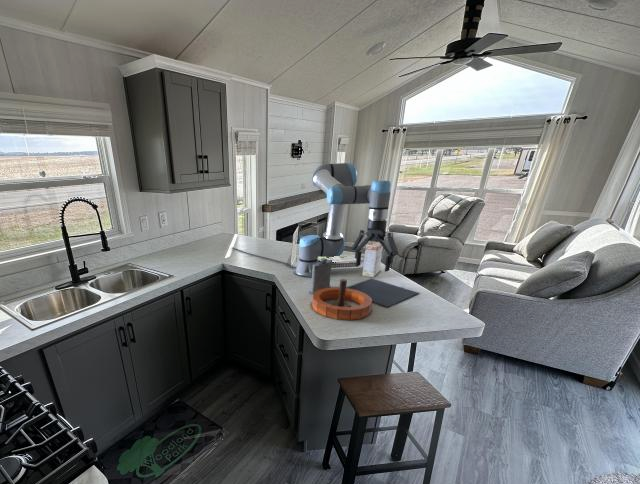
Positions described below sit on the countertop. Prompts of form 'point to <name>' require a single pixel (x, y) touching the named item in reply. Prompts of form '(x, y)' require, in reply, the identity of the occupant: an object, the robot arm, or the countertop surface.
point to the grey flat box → (321, 275)
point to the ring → (342, 312)
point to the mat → (383, 292)
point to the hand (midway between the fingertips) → (371, 268)
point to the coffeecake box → (372, 259)
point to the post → (342, 295)
